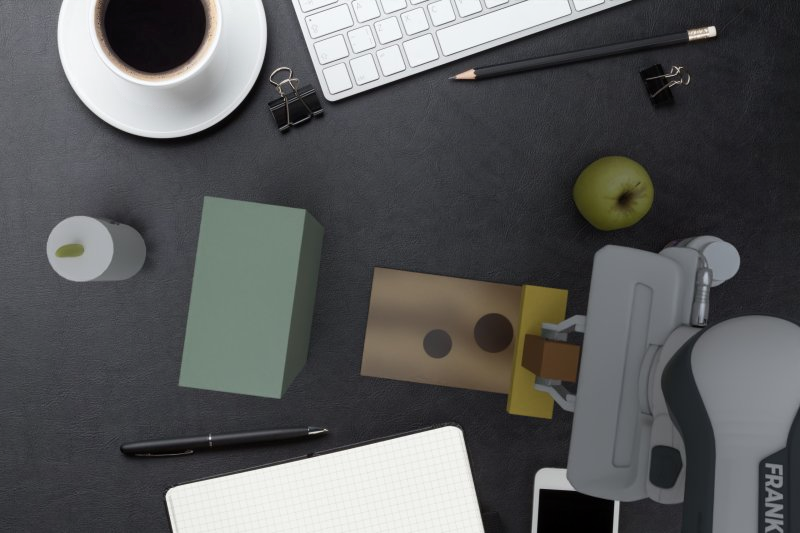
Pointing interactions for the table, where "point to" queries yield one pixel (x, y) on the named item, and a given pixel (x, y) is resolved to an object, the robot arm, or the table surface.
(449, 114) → the table surface
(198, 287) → the tall sage green box
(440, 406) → the table surface
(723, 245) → the pill bottle
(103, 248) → the candle
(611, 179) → the apple
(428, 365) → the mat
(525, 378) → the wiper
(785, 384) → the robot arm
